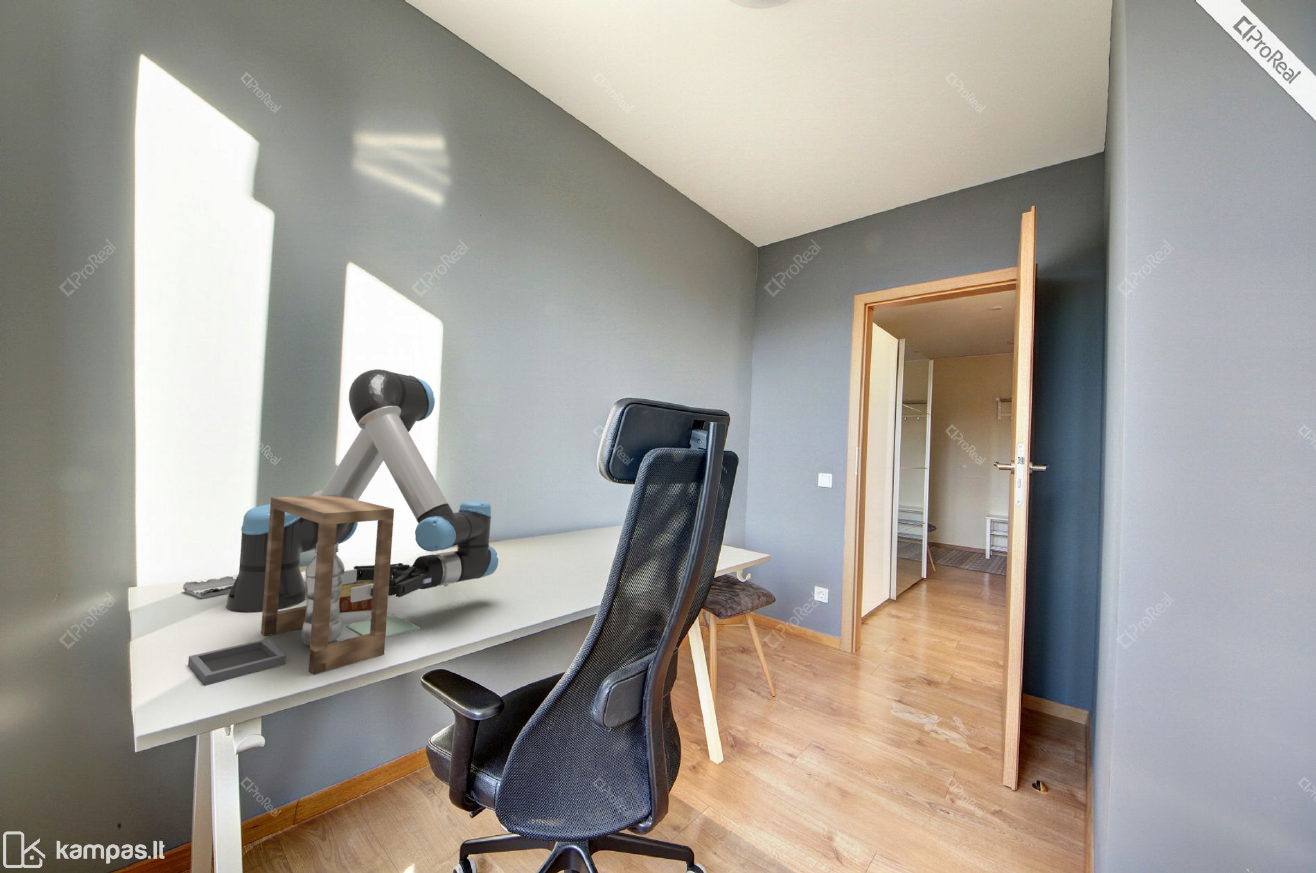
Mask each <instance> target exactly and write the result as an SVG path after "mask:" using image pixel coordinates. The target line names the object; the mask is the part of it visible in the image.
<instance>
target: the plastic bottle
mask: <svg viewBox="0 0 1316 873" xmlns="http://www.w3.org/2000/svg"><path fill="white" fill-rule="evenodd" d="M314 553H315V554H316V555H315V557H313V559H312V560H311V561H309V564H307V566H306V568H305V571H304V572H305V582H306V584H305V585H306V598H307V599H306V606H307V608H306V614H305V621H304V623H303V627H302V628H301V633H300V635H301V641H302V642H303V643H304V645H306V646H309V647H310V641H311V627H312V613H313V599H314V585H315V571H316V557H317V544H316V550H314ZM337 553H339V544H338V542H335V549H334V563H333V577H332V591H331V605H330V619H329V633H328V644H330V643H334V642H337V640H338V639H339V637H340V636H341V631H342V620H341V617H340V616H341V615H340V614H341V613H340V609H339V599H340V596H339V595H340V590H341V584H342V580H343V575H344V571H346V569H345V568H346V567H345V565H344V562H343V561H342V559H341V558H340V557H339V556H338V554H337Z"/></svg>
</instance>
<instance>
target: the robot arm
mask: <svg viewBox="0 0 1316 873" xmlns="http://www.w3.org/2000/svg"><path fill="white" fill-rule="evenodd" d="M435 401H436V398H435V396H434V391H433V389H432V387H431V386H430V384H428V382H427V381H425V380H423V379H421V378H419V377H416V376H414V375H406V374H402V373H397V372H394V371H393V372H392V371H389V370H385V369H379V368H378V369H377V368H376V369H370V370H367V371H364V372H363V373H361V374H359V375H358V376H357V377H356V378H355V379H354V380H353V382H352V383H351V385H350V388H349V392H348V403H349V408H350V411H351V414H352V415H353V417H354V420H355V422H356V423H357V425H358V427H359V428H360V431H359V433H358V434H357V436H356V438H355V439H354V441H353V442H352V444H351V445H350V446H349V448H348V450H347V451H346V453H345V455H344V456H343V458H341V461H340V463H339V464H338V465H337V467H336V469H335V470H334V472H333V474H332V476H331V477H330V478H329V480H328V481H327V483H326V484H325V486H324V488H323V489H322V490H318V491H315V492H314V493H313V494H312V495H311V496H323V495H338V496H342V497H346V498H350V499H355V500H359V499H361V496H362V494H363V493H364V492H365V490H366V488H367V487H368V485H369V484H370V483H371V481H372V479H373V477H374V476H375V475H376V473H377V472H378V470H379V468H380V467H381V465H382V463H383V462H384V464H385V466H386V467H387V470H388V471H389V473H390V475H391V477H392V479H393V480H394V482H395V484H396V485H397V488H398V490H399V491H400V493H401V495H402V496H403V498H404V500H405V501H406V504H407V506H408V507H409V509H410V510H411V513H412V515H413V517H414V518H415V520H416V522H417V526H416V528H415V531H414V534H415V542H416V544H417V545H418V547H419V548H421V549H422V550H423V551H425V552H438V551H445V550H447V549H449V548H452V547H455V546H457V547H456V548H457V550H455V551H445V552H440V553H435V554H428V555H427V554H426V555H421V556H418V557H417V558H416V559H415V560H414V562H413V563H412V565H410V564H403V563H401V562H399V563H390V578H389V592H388V597H392V596H395V597H396V598H402V597H403V596H406V595H409V594H410V593H413V592H415V591H417V590H426V589H432V588H436V587H438V586H439V587H441V586H444V587H448V586H449V584H455V583H459V582H465V581H470V580H477V579H481V578H485V577H488V576H491V575H492V574H494V573H495V572H496V571H497V569H498V566H499V558H498V553H497V552H498V551H496V549H495V548H494V547H493V546H490V545H489V544H490V543H489V542H490V533H491V524H492V520H491V519H492V513H491V512H492V511H491V510H492V507H491V503H489V502H487V501H482V500H466V501H462V502H461V503H460V505H459V510H458V512H454V511H453V509H452V507H451V506H450V504H449V502H448V501H447V498H446V497H445V495H444V494H443V492H442V490H441V488H440V486H439V484H438V483H437V481H436V479H435V478H434V475H433V473H432V472H431V470H430V468H429V467H428V465H427V463H426V461H425V460H424V458H423V455H422V454H421V452H420V451H419V449H418V447H417V445H416V443H415V442H414V440H413V438H412V437H411V434H410V431H412V430H411V429H412V428H413V427H414V425H415V424H416V422H421V421H423V420H425V419H428V418H429V417H430V415H431V414H432V413H433V410H434V408H435V404H436V402H435ZM359 501H360V500H359ZM270 505H271V503H270V504H269V503H268V504H263V505H259V506H256V507H253V508H250V509H249V510H247V511H246V512H245V514H244V516H243V521H242V526H241V529H240V530H241V539H240V540H241V541H240V553H239V554H240V556H239V568H238V574H237V576H236V578H235V579H236V580H235V582H234V584H233V586H232V585H231V586H232V589H231V591H230V593H228V594H227V598H226V608H227V609H229V610H230V611H236V612H247V613H249V612H250V613H251V612H263V599H264V585H265V572H266V558H267V545H268V532H269V518H270ZM358 524H359V522H352V523H340V524H337V535H336V542H338V545H340V544H343V543H344V542H346V541H348V540H349V539H351V537H352V536H353V535H354V533H355V532H356V530H357V528H358ZM318 529H319V523H317V522H314V521H311V520H308V519H305V518H302V517H299V516H296V515H293V514H289V513H286V512H285V519H284V533H283V547H282V560H281V574H280V587H279V601H278V610H279V609H283V608H287V607H291V606H294V605H298V604H300V603H301V602H303V601H305V599H306V598H307V586H306V584H305V581H304V578H303V574H302V572H301V569H300V565H301V564H300V562H301V553H305V552H310V551H315V550H316V544H317V543H318ZM374 568H375V564H371V565H354V566H353V569H348V570H346V569H345V570H344V575H343V580H342V584H348V583H354V584H356V583H357V582H358V580H374ZM342 584H341V585H342ZM372 597H373V584H369V585H364V586H358V587H352V588H351V601H350V602H357V601H362V600H367V599H372Z"/></svg>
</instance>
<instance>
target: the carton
mask: <svg viewBox="0 0 1316 873" xmlns="http://www.w3.org/2000/svg"><path fill="white" fill-rule="evenodd" d="M373 582H374V580H358V582H357V583H356V584H354V583H348V584H342V585H341V590H340V595H339V596H340V599H339V609H340V614H342V613H353V612H363V611H364V612H365V611H372V599H367V600H362V601H357V602H350V601H351V588H352V587H358V586H364V585H369V584H373Z"/></svg>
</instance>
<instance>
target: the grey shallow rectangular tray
mask: <svg viewBox="0 0 1316 873" xmlns="http://www.w3.org/2000/svg"><path fill="white" fill-rule="evenodd" d="M286 661H287V655H286V654H285V653H283V651H281V650H280V649H279V648H277V647H276V646H275V645H274V644H272V643H271V642H270V641H269V640H267V639H266V638H264V639H259V640H255V641H250V642H246V643H241V644H237V645H234V646H233V645H232V646H229V647H224V648H220V649H215V650H211V651H207V652H202V653H197V654H193V655H189V656H188V660H187V662H188V663H187V664H188V666H189V668H190V669H191V670H192V671H193V672H194V674H195V675H196V676H197V677H198V678H199V680H200V681H201V683H202V684H203V685H204V686H208V685H211V684H215V683H219V682H222V681H226V680H230V679H234V678H238V677H241V676H245V675H248V674H252V673H255V672H260V671H263V670H268V669H272V668H275V666H276V667H279V666H283V665H286ZM278 665H279V666H278ZM267 668H268V669H267Z"/></svg>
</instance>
